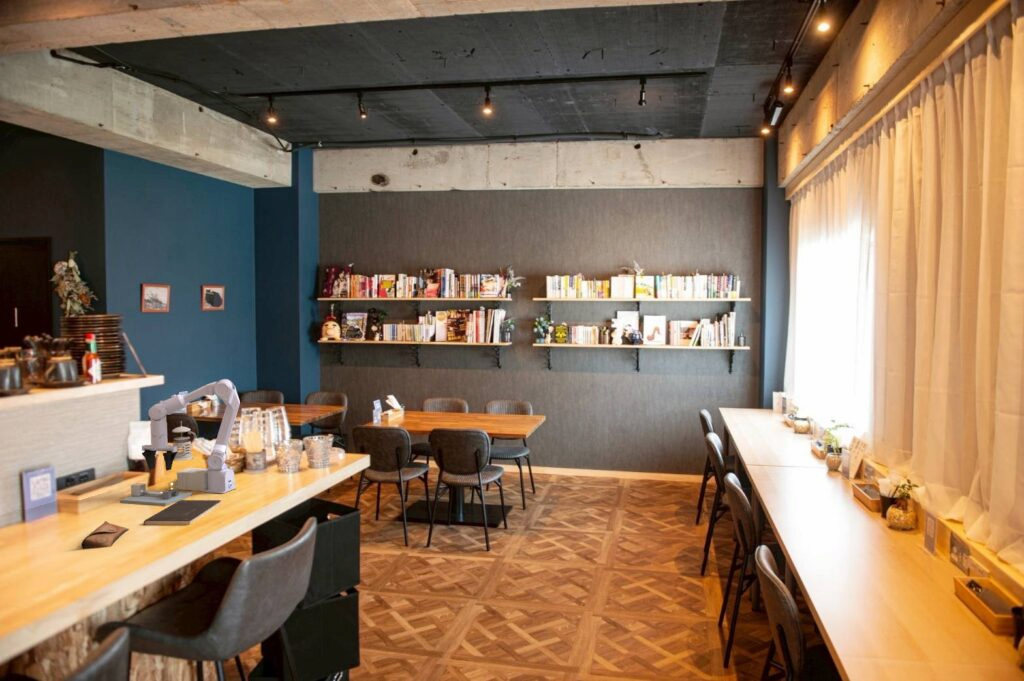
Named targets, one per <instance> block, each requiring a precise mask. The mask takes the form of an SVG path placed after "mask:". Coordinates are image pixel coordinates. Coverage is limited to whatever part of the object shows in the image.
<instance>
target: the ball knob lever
mask: <svg viewBox="0 0 1024 681" xmlns="http://www.w3.org/2000/svg"><path fill="white" fill-rule="evenodd" d="M167 486H168V487H167V490H173V489H174V488H177V486H178V479H177V478H176V479H173V480H172V481H170V482H168V484H167Z"/></svg>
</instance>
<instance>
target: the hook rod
mask: <svg viewBox="0 0 1024 681" xmlns="http://www.w3.org/2000/svg"><path fill="white" fill-rule="evenodd" d="M146 485H147V484H146V483H140V482H136V483H133V484H130V492H131V493H130V496H132V495H133V496H142V495H158V496H163V492H155V491H146V490H147V489H146V488H147V487H146Z"/></svg>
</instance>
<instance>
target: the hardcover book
mask: <svg viewBox="0 0 1024 681" xmlns="http://www.w3.org/2000/svg"><path fill="white" fill-rule="evenodd" d="M221 502H222V500H220V499H213V500H211V499H200V500H199V499H181V500H179V501H177V502H174V503H172V504H170V505H169V506H167V507H166V508H163V509H162V510H160V511H159V512H156V513H155V514H153V515H151V516H150V517H148V518H146V519H144V521H143V525H147V526H148V525H150V526H152V525H158V526H159V525H161V526H162V525H163V526H164V525H165V526H166V525H170V526H171V525H173V526H174V525H175V526H177V525H178V526H180V525H182V526H184V525H185V526H186V525H187V526H189V525H193V523H195V522H197V521H198V520H200V518H202V517H204V516H206V515H207V514H208V513H210V512H212V511H213V510H214V509H217V507H219V506H221Z"/></svg>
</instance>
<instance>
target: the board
mask: <svg viewBox="0 0 1024 681" xmlns="http://www.w3.org/2000/svg"><path fill="white" fill-rule="evenodd" d="M146 491H155V492H163V491H164V490H156V489H155V490H154V489H146ZM192 494H193V493H192V492H184V491H183V492H181V491H179V496H176V497H174V496H171V499H169V500H167V499H163V496H158V495H142V496H133V495H129V496H127V497H125V498H122V499H119V503H120V504H121V503H123V504H133V505H150V506H162V507H163V506H165V507H166V506H167V507H168V505H169V506H170V505H172V504H174V503H176V502H178V501H180V500H185V499H187V498H189V497H191V496H192Z"/></svg>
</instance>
